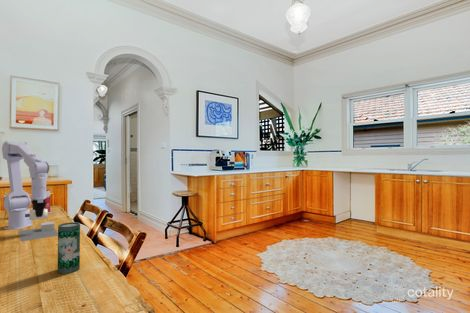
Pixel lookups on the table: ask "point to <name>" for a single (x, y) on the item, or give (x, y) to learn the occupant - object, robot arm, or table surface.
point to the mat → (36, 234)
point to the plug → (33, 215)
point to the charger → (47, 226)
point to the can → (68, 247)
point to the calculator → (47, 201)
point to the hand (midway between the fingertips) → (38, 215)
